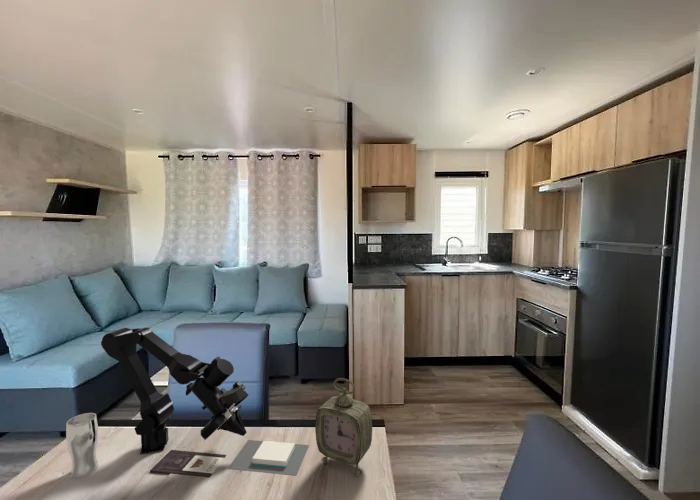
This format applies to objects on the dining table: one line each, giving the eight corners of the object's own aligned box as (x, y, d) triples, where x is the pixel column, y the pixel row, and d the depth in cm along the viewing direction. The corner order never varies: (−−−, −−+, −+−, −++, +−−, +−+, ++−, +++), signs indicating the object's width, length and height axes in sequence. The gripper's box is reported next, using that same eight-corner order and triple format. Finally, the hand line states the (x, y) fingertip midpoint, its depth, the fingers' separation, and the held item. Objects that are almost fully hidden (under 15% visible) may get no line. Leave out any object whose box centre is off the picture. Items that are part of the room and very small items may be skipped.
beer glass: (73, 466, 96) (70, 415, 96) (103, 459, 99) (100, 410, 98) (64, 483, 90) (61, 428, 89) (96, 475, 93) (93, 422, 92)
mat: (227, 469, 94) (227, 468, 94) (248, 441, 107) (248, 439, 107) (296, 476, 91) (296, 475, 91) (309, 446, 104) (309, 445, 104)
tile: (252, 458, 96) (285, 461, 94) (263, 440, 104) (294, 443, 102) (252, 464, 96) (286, 467, 94) (263, 446, 104) (294, 449, 102)
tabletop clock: (315, 465, 96) (314, 379, 94) (332, 446, 104) (330, 367, 102) (361, 482, 89) (360, 390, 88) (375, 461, 97) (374, 376, 95)
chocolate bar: (171, 449, 102) (226, 454, 100) (171, 452, 102) (226, 457, 100) (149, 470, 94) (209, 476, 91) (149, 474, 94) (209, 480, 91)
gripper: (210, 393, 90) (249, 437, 89) (242, 365, 109) (275, 401, 108) (183, 418, 92) (221, 462, 91) (220, 387, 110) (251, 422, 110)
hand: (245, 434), depth 100 cm, fingers closed
